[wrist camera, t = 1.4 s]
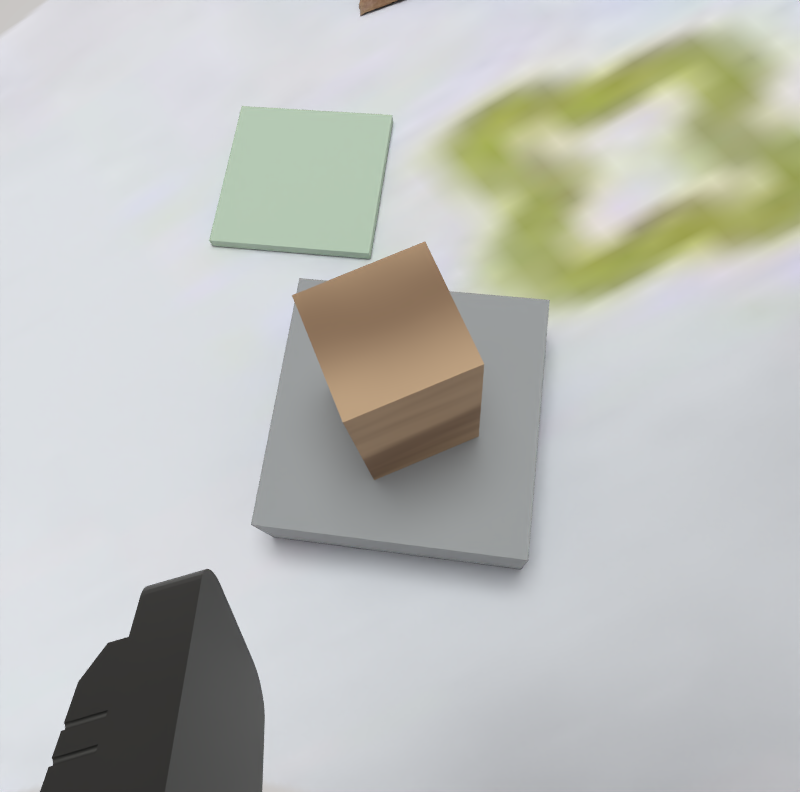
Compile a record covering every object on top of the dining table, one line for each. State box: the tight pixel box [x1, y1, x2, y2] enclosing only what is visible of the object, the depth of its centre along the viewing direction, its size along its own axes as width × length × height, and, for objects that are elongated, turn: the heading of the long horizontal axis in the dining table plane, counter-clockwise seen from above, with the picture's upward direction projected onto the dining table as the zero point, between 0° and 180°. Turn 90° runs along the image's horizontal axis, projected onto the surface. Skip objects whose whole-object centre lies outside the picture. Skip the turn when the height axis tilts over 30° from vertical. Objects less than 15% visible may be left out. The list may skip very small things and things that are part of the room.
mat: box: [209, 106, 393, 259], centre depth 42 cm, size 9×9×1 cm
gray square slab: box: [251, 278, 549, 569], centre depth 35 cm, size 12×12×4 cm
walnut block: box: [292, 242, 484, 480], centre depth 29 cm, size 5×5×9 cm
